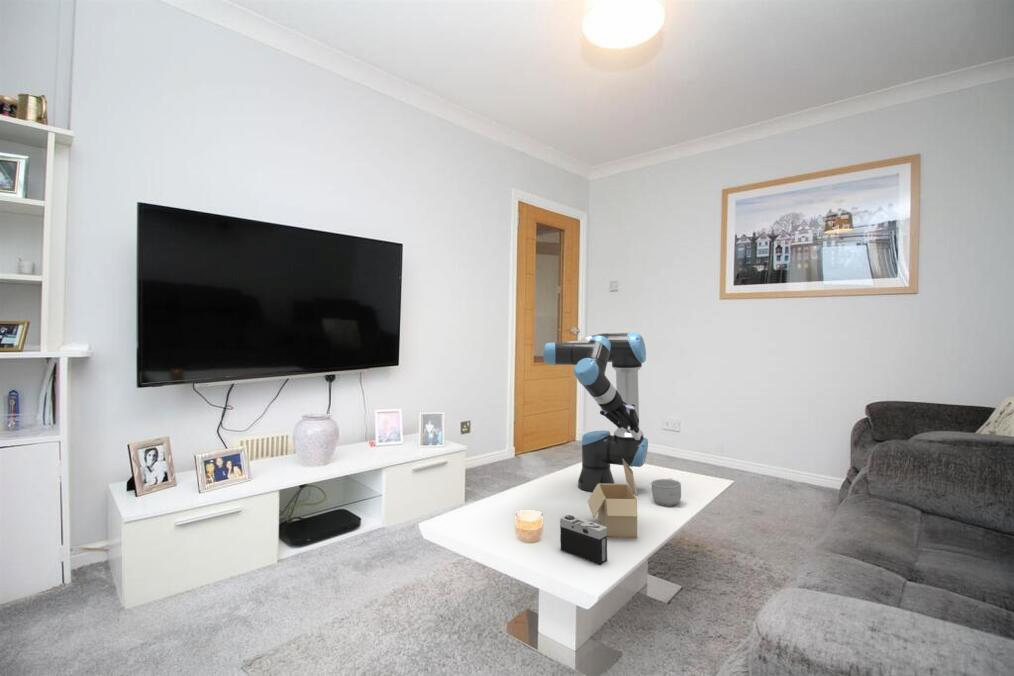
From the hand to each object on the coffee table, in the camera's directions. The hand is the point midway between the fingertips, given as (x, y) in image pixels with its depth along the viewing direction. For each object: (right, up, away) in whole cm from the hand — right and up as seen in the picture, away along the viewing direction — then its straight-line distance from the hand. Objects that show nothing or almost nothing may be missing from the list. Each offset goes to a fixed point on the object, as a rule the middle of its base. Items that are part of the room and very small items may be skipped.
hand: (638, 436), depth 169 cm
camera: (-23, -29, -28) cm, 46 cm away
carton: (-12, -28, -9) cm, 32 cm away
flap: (-5, -16, -9) cm, 19 cm away
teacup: (+15, -28, +16) cm, 36 cm away
